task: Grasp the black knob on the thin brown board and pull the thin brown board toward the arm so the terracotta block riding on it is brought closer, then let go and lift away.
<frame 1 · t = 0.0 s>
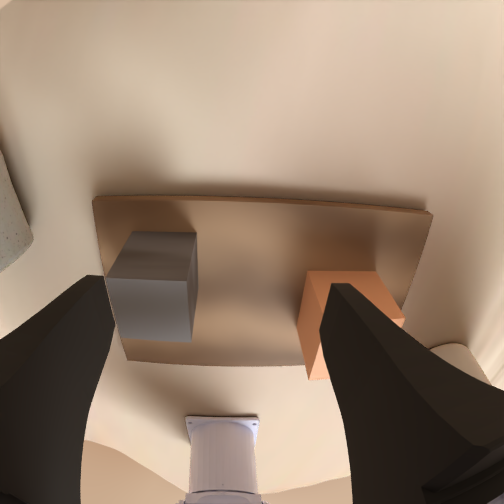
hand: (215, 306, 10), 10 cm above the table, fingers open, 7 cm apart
cylinder vase: (423, 376, 30), on the table
cube: (335, 300, 22), point 1 cm above the table, touching thin brown board
thin brown board: (268, 321, 19), point 3 cm above the table, slide at 0.0 cm, touching cube
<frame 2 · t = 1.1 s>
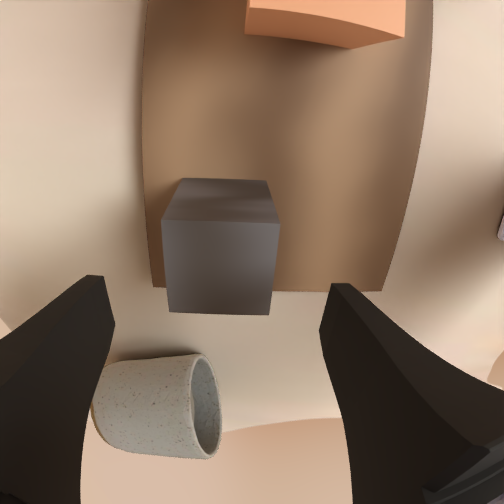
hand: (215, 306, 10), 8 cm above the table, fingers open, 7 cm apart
thin brown board: (306, 90, 11), point 3 cm above the table, slide at 0.0 cm, touching cube
ceramic mug: (173, 377, 24), on the table
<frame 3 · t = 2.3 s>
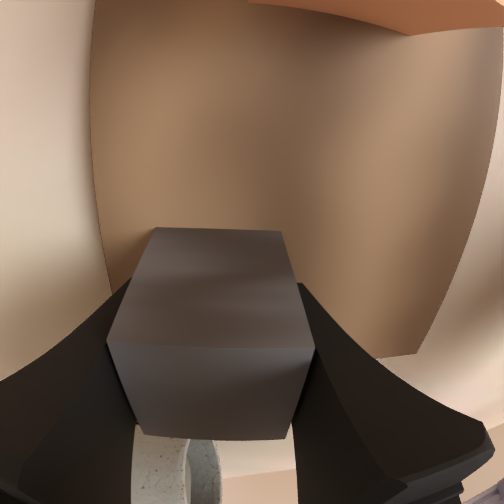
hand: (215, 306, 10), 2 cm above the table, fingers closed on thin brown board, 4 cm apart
thin brown board: (356, 95, 6), point 3 cm above the table, slide at 0.0 cm, touching cube, gripper
ceramic mug: (166, 436, 19), on the table
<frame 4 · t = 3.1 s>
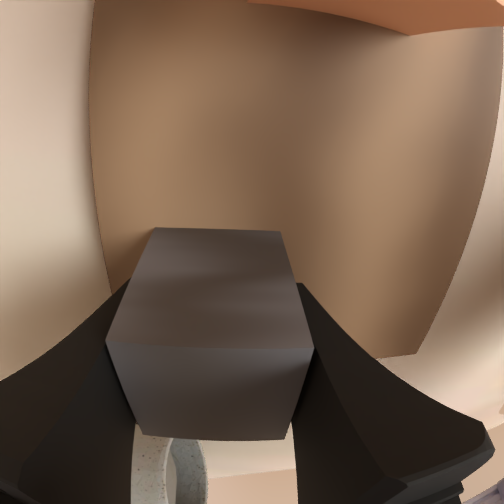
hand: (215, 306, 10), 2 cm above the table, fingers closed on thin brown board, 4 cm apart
thin brown board: (355, 94, 6), point 3 cm above the table, slide at 1.1 cm, touching cube, gripper
ceramic mug: (153, 436, 19), on the table
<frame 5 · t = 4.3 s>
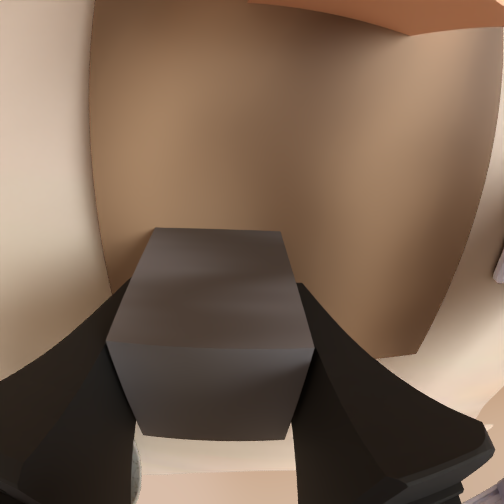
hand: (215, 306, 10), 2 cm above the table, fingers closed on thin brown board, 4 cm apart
thin brown board: (356, 95, 6), point 3 cm above the table, slide at 6.0 cm, touching cube, gripper
ceramic mug: (94, 428, 19), on the table
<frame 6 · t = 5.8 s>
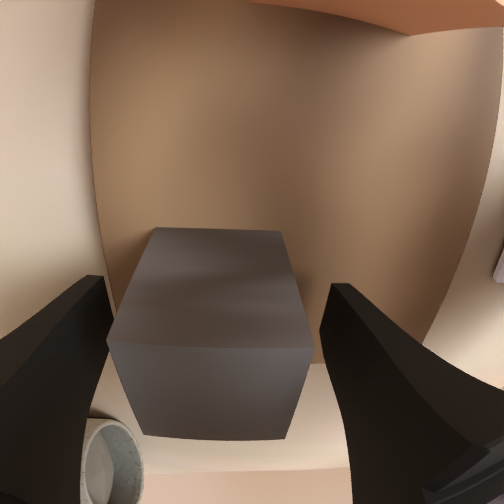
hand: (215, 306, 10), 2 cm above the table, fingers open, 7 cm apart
thin brown board: (356, 95, 6), point 3 cm above the table, slide at 6.0 cm, touching cube
ceramic mug: (97, 430, 19), on the table
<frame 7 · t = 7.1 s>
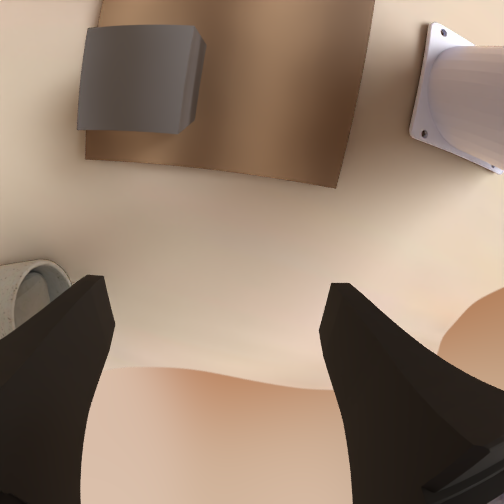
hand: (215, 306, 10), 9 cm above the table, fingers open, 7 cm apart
ceramic mug: (45, 298, 21), on the table
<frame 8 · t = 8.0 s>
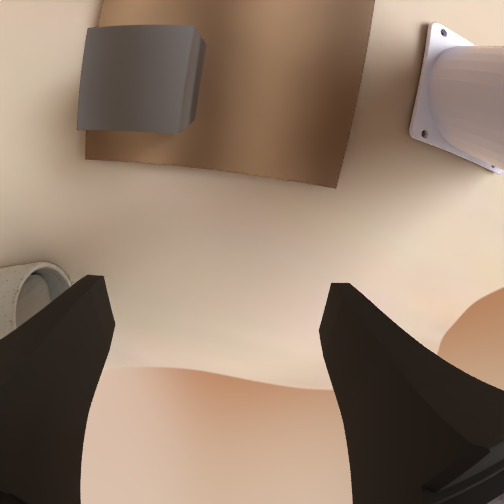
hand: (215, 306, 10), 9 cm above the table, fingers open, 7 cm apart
ceramic mug: (46, 300, 21), on the table
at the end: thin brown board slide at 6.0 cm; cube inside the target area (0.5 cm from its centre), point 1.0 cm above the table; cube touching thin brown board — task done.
